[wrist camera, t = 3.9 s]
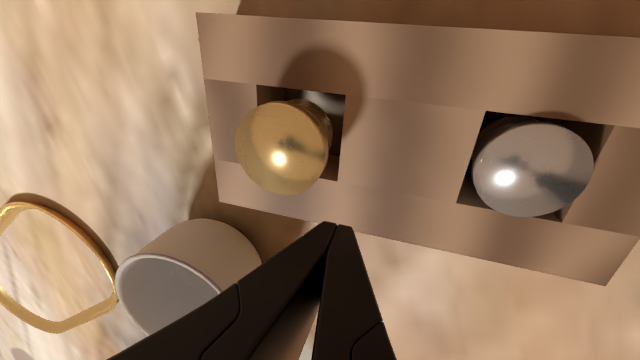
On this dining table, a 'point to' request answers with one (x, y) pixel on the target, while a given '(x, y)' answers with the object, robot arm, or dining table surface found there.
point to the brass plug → (284, 145)
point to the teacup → (182, 271)
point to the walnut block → (436, 130)
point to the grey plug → (529, 166)
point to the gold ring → (10, 211)
